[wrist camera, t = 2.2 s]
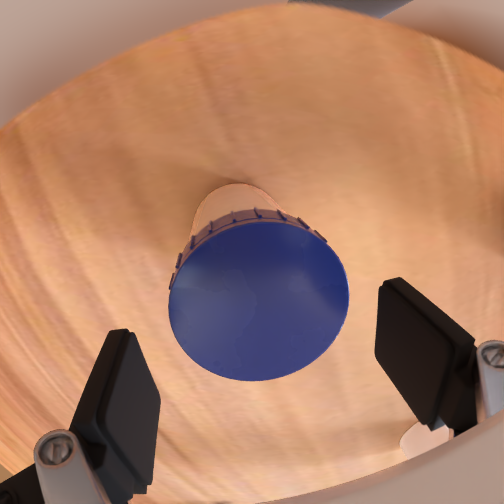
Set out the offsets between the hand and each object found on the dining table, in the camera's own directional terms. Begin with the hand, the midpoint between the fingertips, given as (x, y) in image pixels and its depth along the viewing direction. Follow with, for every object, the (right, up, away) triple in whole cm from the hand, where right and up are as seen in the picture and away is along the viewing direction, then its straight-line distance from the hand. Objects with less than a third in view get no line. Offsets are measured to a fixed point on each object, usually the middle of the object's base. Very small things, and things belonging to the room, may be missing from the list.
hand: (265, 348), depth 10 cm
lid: (0, +1, +2) cm, 2 cm away
